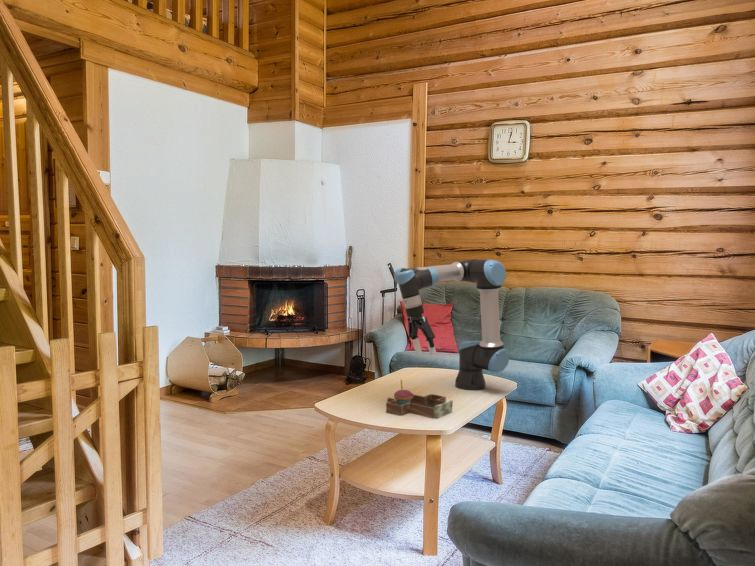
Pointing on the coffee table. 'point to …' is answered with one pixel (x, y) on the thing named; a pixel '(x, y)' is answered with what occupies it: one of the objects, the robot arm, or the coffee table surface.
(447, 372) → the coffee table surface
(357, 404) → the coffee table surface
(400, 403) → the cupcake
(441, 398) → the trap lane
